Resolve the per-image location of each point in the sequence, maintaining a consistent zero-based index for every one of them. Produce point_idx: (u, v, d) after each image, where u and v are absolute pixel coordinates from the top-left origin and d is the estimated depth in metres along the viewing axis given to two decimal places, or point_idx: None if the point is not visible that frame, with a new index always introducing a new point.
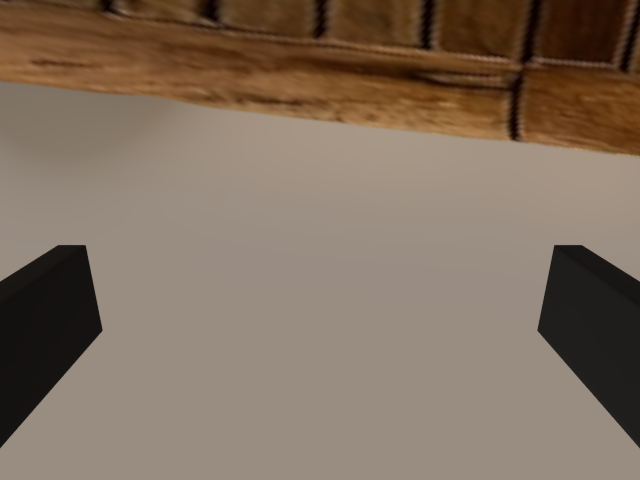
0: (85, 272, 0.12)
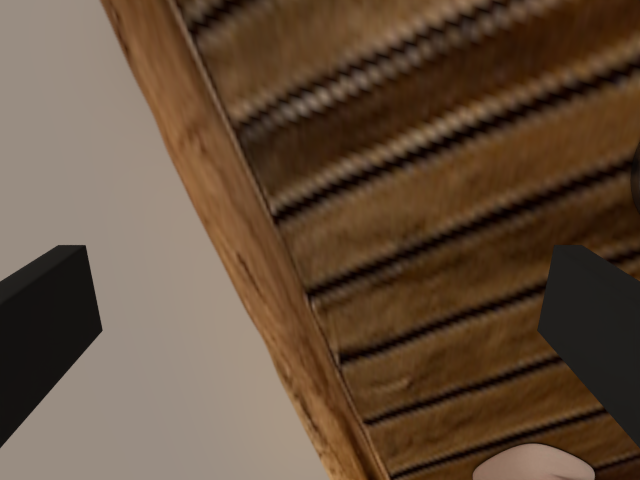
0: (85, 272, 0.12)
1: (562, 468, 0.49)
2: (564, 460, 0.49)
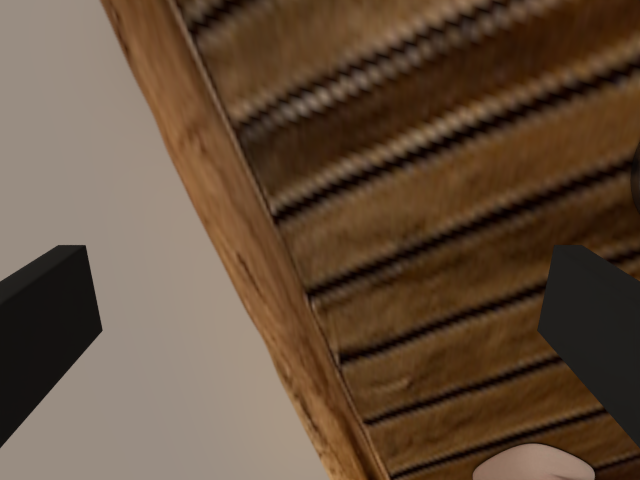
0: (85, 272, 0.12)
1: (562, 468, 0.49)
2: (564, 460, 0.49)
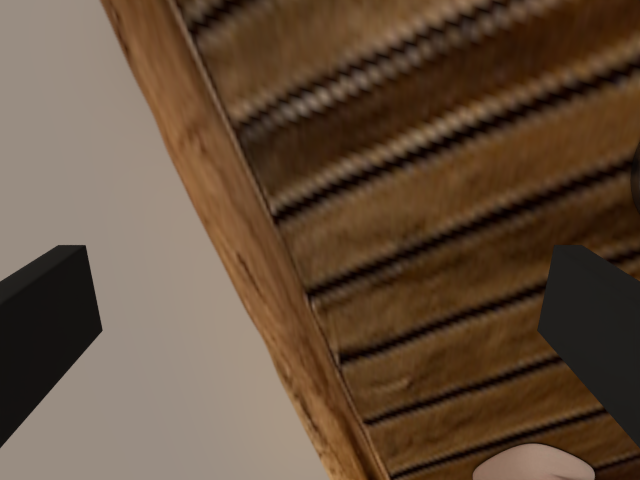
0: (85, 272, 0.12)
1: (562, 468, 0.49)
2: (564, 460, 0.49)
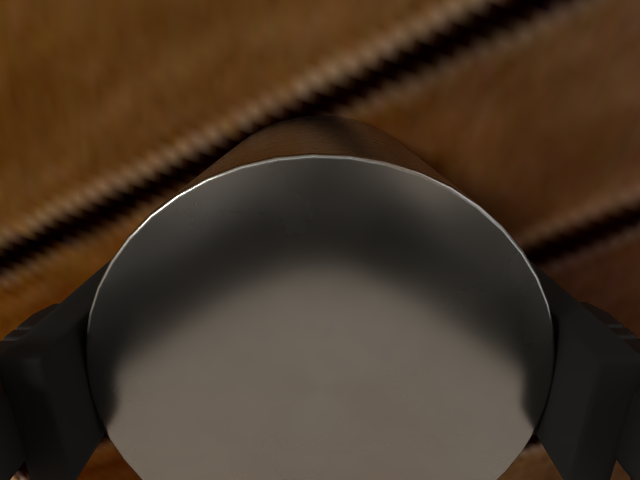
0: None
1: None
2: None
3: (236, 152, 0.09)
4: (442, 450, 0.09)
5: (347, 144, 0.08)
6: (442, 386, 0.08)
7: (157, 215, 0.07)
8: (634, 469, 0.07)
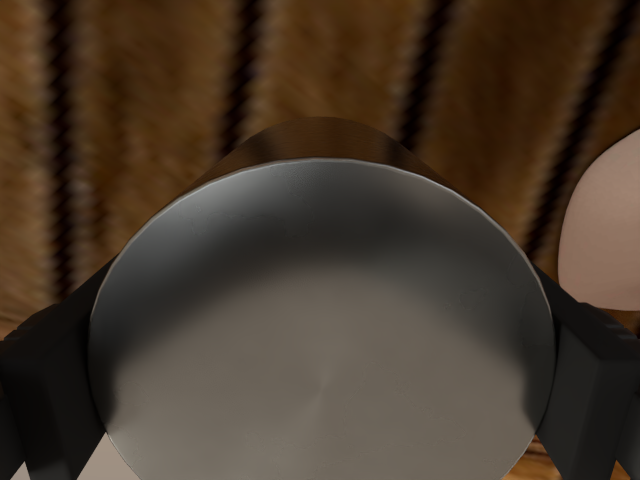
0: None
1: None
2: None
3: (237, 154, 0.09)
4: (444, 453, 0.09)
5: (348, 147, 0.08)
6: (443, 389, 0.08)
7: (158, 218, 0.07)
8: (634, 469, 0.07)
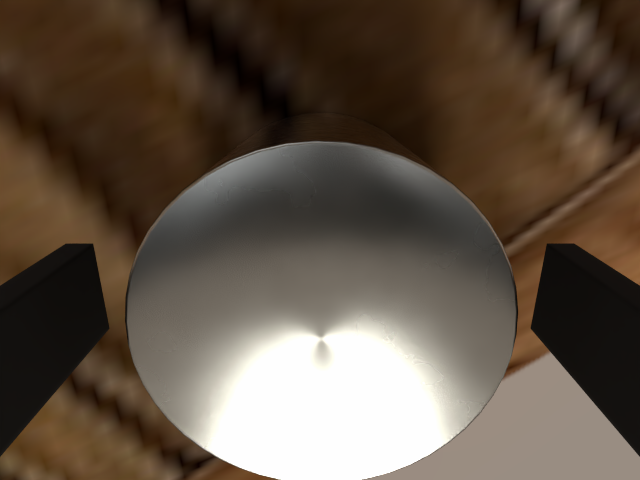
0: (92, 270, 0.12)
1: None
2: None
3: (249, 142, 0.11)
4: (425, 395, 0.11)
5: (344, 134, 0.10)
6: (423, 338, 0.10)
7: (188, 191, 0.09)
8: None
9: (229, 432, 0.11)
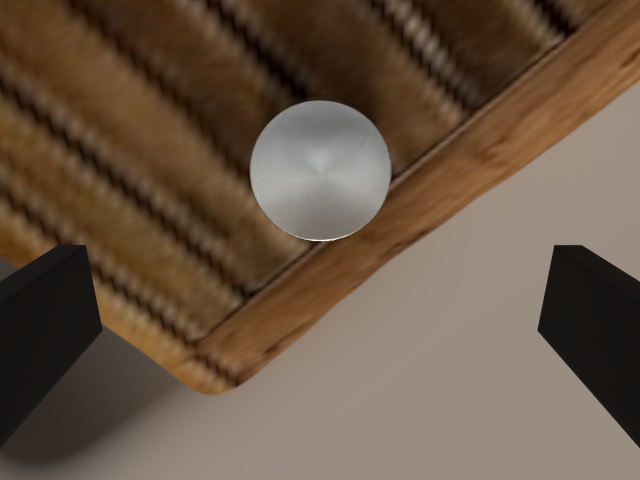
0: (85, 271, 0.12)
1: None
2: None
3: (292, 104, 0.29)
4: (359, 198, 0.28)
5: (328, 99, 0.27)
6: (357, 174, 0.28)
7: (276, 117, 0.26)
8: None
9: (285, 215, 0.29)
